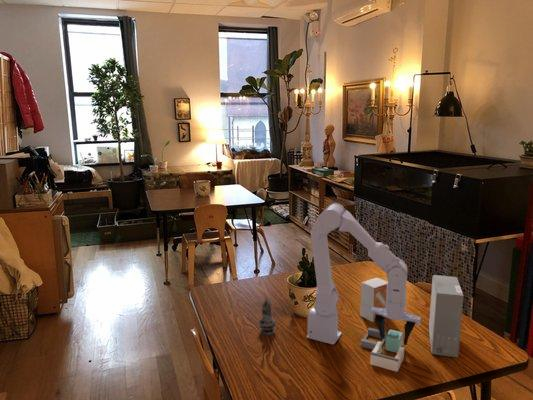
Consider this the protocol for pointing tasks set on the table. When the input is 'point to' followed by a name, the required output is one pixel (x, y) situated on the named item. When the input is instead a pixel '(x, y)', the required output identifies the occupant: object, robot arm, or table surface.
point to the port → (386, 358)
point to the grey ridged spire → (266, 319)
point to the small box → (372, 297)
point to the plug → (393, 341)
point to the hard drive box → (445, 315)
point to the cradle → (370, 343)
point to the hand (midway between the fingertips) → (394, 340)
